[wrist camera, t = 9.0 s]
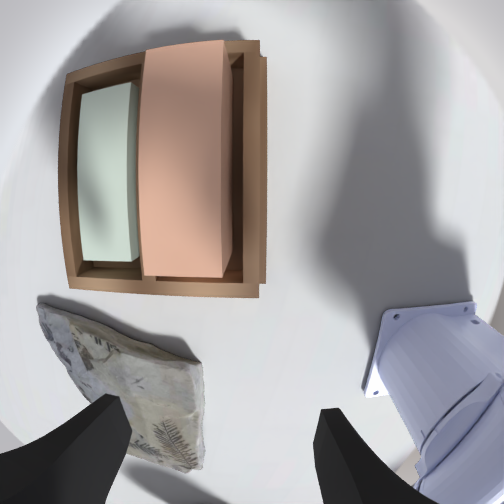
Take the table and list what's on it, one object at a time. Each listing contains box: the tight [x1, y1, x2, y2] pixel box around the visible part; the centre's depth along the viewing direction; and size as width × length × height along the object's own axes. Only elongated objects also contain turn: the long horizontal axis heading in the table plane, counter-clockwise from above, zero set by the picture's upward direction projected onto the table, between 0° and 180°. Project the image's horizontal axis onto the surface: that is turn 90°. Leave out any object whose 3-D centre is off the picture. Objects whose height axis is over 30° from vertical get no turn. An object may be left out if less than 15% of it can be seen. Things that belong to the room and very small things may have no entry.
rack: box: [58, 40, 267, 298], centre depth 14 cm, size 13×14×3 cm
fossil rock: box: [36, 303, 205, 474], centre depth 20 cm, size 18×15×2 cm
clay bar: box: [138, 40, 234, 278], centre depth 13 cm, size 3×10×5 cm, turn 0°
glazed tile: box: [77, 82, 140, 262], centre depth 14 cm, size 3×10×2 cm, turn 0°
